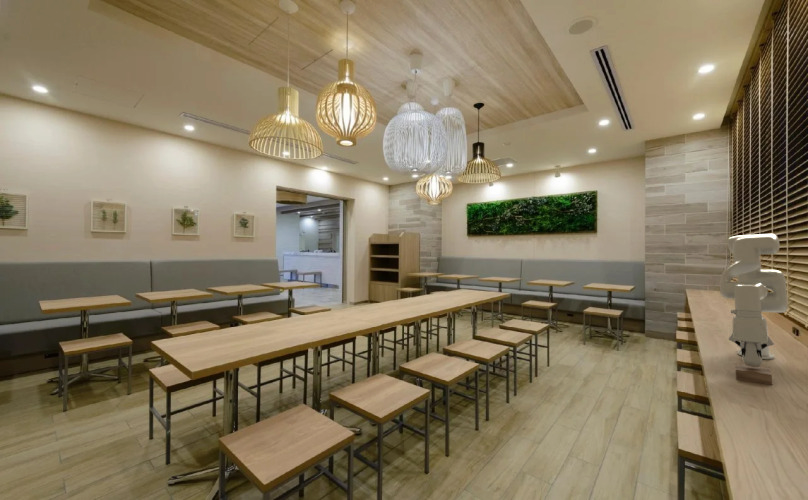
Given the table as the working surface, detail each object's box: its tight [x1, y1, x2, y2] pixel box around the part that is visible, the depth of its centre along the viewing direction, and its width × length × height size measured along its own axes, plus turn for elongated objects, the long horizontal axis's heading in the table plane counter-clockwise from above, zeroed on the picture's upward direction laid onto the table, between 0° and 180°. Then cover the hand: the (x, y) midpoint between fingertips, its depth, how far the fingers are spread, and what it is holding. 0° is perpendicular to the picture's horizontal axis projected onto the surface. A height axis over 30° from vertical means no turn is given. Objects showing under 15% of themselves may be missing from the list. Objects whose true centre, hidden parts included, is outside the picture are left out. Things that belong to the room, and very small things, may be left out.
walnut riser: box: [735, 363, 773, 386], centre depth 138 cm, size 10×10×4 cm
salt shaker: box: [741, 342, 763, 367], centre depth 138 cm, size 6×6×13 cm
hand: (751, 357), depth 138 cm, fingers closed on salt shaker, 3 cm apart
